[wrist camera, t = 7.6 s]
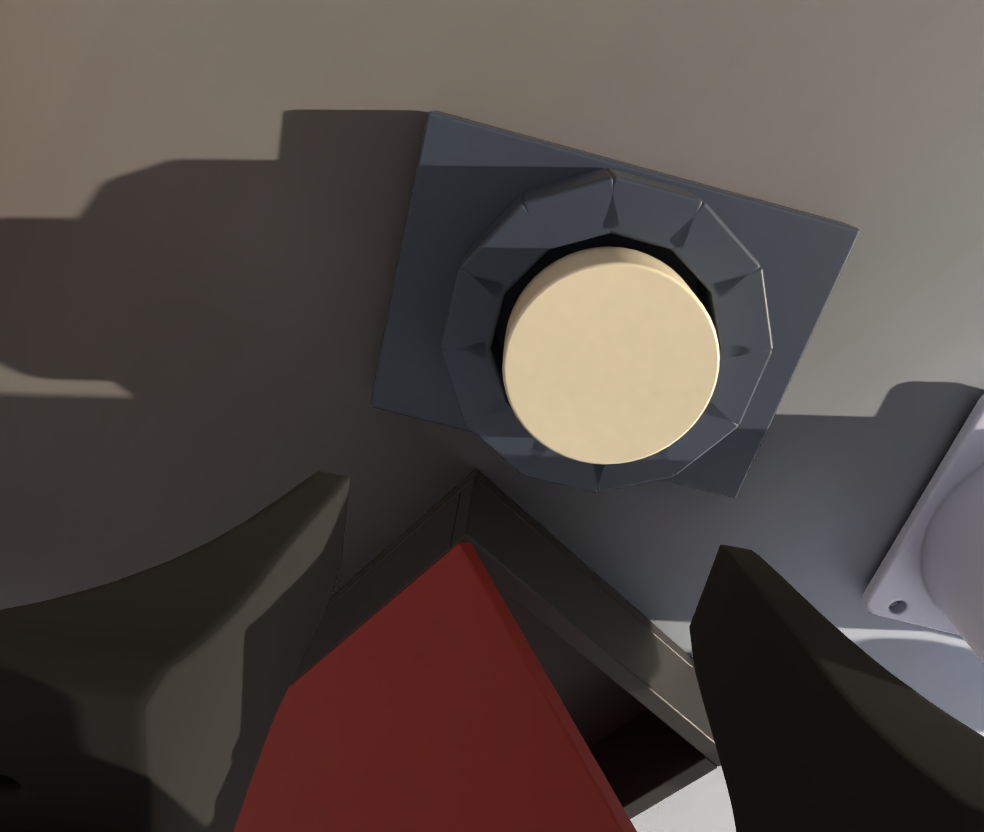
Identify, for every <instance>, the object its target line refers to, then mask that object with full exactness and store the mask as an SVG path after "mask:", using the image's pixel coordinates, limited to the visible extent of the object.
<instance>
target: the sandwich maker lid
mask: <svg viewBox="0 0 984 832" xmlns="http://www.w3.org/2000/svg"><path fill="white" fill-rule="evenodd" d="M233 832H637V831H636V829H635V828H634V826H633V824H632V822H631V821H630V819H629V817H628V815H627V814H626V812H625V810H624V808H623V807H622V805H621V803H620V802H619V800H618V798H617V796H616V795H615V793H614V791H613V789H612V788H611V786H610V784H609V782H608V781H607V779H606V777H605V775H604V774H603V772H602V770H601V769H600V767H599V765H598V763H597V762H596V760H595V758H594V756H593V755H592V753H591V751H590V749H589V748H588V746H587V744H586V743H585V741H584V739H583V737H582V736H581V734H580V732H579V730H578V729H577V727H576V725H575V723H574V722H573V720H572V718H571V716H570V715H569V713H568V711H567V710H566V708H565V706H564V704H563V703H562V701H561V699H560V697H559V696H558V694H557V692H556V690H555V689H554V687H553V685H552V683H551V682H550V680H549V678H548V677H547V675H546V673H545V671H544V670H543V668H542V666H541V664H540V663H539V661H538V659H537V657H536V656H535V654H534V652H533V650H532V649H531V647H530V645H529V644H528V642H527V640H526V638H525V637H524V635H523V633H522V631H521V630H520V628H519V626H518V624H517V623H516V621H515V619H514V618H513V616H512V614H511V612H510V611H509V609H508V607H507V605H506V604H505V602H504V600H503V598H502V597H501V595H500V593H499V591H498V590H497V588H496V586H495V585H494V583H493V581H492V579H491V578H490V576H489V574H488V572H487V571H486V569H485V567H484V565H483V564H482V562H481V560H480V558H479V557H478V555H477V553H476V552H475V550H474V548H473V546H472V545H471V543H469V542H466V543H457V544H456V545H455V546H454V547H453V548H451V549H450V550H449V551H448V552H447V553H446V554H444V555H443V556H442V557H441V558H440V559H438V560H437V561H436V562H435V563H434V564H433V565H431V566H430V567H429V568H428V569H427V570H426V571H424V572H423V573H422V574H421V575H420V576H418V577H417V578H416V579H415V580H414V581H413V582H411V583H410V584H409V585H408V586H407V587H406V588H404V589H403V590H402V591H401V592H400V593H398V594H397V595H396V596H395V597H394V598H393V599H391V600H390V601H389V602H388V603H387V604H386V605H384V606H383V607H382V608H381V609H380V610H378V611H377V612H376V613H375V614H374V615H373V616H371V617H370V618H369V619H368V620H367V621H366V622H364V623H363V624H362V625H361V626H360V627H358V628H357V629H356V630H355V631H354V632H353V633H351V634H350V635H349V636H348V637H347V638H346V639H344V640H343V641H342V642H341V643H340V644H338V645H337V646H336V647H335V648H334V649H333V650H331V651H330V652H329V653H328V654H327V655H326V656H324V657H323V658H322V659H321V660H320V661H318V662H317V663H316V664H315V665H314V666H313V667H311V668H310V669H309V670H308V671H307V672H306V673H304V674H303V675H302V676H301V677H300V678H299V679H297V680H296V681H295V682H294V683H293V684H291V685H290V686H289V687H288V690H287V692H286V694H285V696H284V698H283V700H282V702H281V704H280V706H279V708H278V711H277V713H276V715H275V718H274V720H273V722H272V725H271V727H270V730H269V733H268V735H267V738H266V741H265V744H264V746H263V749H262V752H261V755H260V757H259V760H258V763H257V766H256V768H255V771H254V774H253V777H252V780H251V782H250V785H249V788H248V791H247V794H246V797H245V800H244V803H243V805H242V808H241V811H240V814H239V817H238V820H237V823H236V826H235V829H234V831H233Z"/></svg>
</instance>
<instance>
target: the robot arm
mask: <svg viewBox="0 0 984 832" xmlns="http://www.w3.org/2000/svg"><path fill="white" fill-rule="evenodd" d="M349 484H350V477H347V476H342V475H336V474H331V473H325V472H320V471H318V472H317V473H315V474H314V475H312V476H311V477H309V478H308V479H306V480H305V481H303V482H302V483H301V484H299V485H298V486H297V487H295V488H294V489H292V490H291V491H290V492H288V493H287V494H285V495H284V496H282V497H281V498H280V499H278V500H277V501H275V502H274V503H272V504H271V505H269V506H268V507H266V508H265V509H263V510H262V511H260V512H259V513H257V514H256V515H254V516H253V517H251V518H250V519H248V520H247V521H245V522H243V523H242V524H240V525H238V526H236V527H235V528H233V529H231V530H230V531H228V532H226V533H225V534H223V535H221V536H219V537H218V538H216V539H214V540H212V541H210V542H208V543H206V544H204V545H202V546H200V547H198V548H196V549H194V550H192V551H190V552H188V553H185V554H183V555H181V556H179V557H177V558H175V559H172V560H170V561H168V562H165V563H163V564H160V565H158V566H155V567H152V568H150V569H147V570H144V571H142V572H139V573H136V574H133V575H131V576H128V577H125V578H123V579H120V580H117V581H114V582H111V583H108V584H105V585H102V586H98V587H95V588H92V589H88V590H85V591H81V592H78V593H74V594H70V595H66V596H63V597H59V598H55V599H51V600H47V601H42V602H38V603H33V604H28V605H23V606H18V607H13V608H8V609H3V610H0V832H233V831H234V829H235V826H236V823H237V820H238V817H239V814H240V811H241V808H242V805H243V803H244V800H245V797H246V794H247V791H248V788H249V785H250V782H251V780H252V777H253V774H254V771H255V768H256V766H257V763H258V760H259V757H260V755H261V752H262V749H263V746H264V744H265V741H266V738H267V735H268V733H269V730H270V727H271V725H272V722H273V720H274V718H275V715H276V713H277V711H278V708H279V706H280V704H281V702H282V700H283V698H284V696H285V694H286V692H287V690H288V687H289V685H290V683H291V681H292V679H293V677H294V675H295V673H296V671H297V669H298V667H299V665H300V663H301V661H302V658H303V656H304V654H305V652H306V650H307V648H308V646H309V644H310V642H311V640H312V638H313V636H314V634H315V631H316V629H317V627H318V625H319V623H320V621H321V619H322V617H323V615H324V612H325V610H326V608H327V605H328V602H329V599H330V596H331V593H332V590H333V587H334V584H335V581H336V578H337V575H338V572H339V569H340V566H341V558H342V549H343V540H344V530H345V521H346V512H347V502H348V493H349ZM862 601H863V603H864V605H865V607H866V608H867V609H868V611H869V612H870V613H873V614H875V615H879V616H883V617H887V618H891V619H895V620H899V621H903V622H907V623H912V624H916V625H920V626H924V627H928V628H932V629H936V630H940V631H944V632H948V633H952V634H957V635H961V636H962V637H963V638H964V639H965V641H966V642H967V643H968V644H969V646H970V647H971V648H972V650H973V651H974V652H975V653H976V655H977V656H978V657H979V659H980V660H981V661H982V662H983V664H984V394H983V395H982V396H981V397H980V398H979V400H978V401H977V403H976V405H975V406H974V408H973V410H972V411H971V413H970V415H969V416H968V418H967V420H966V421H965V423H964V425H963V427H962V428H961V430H960V432H959V433H958V435H957V437H956V438H955V440H954V442H953V443H952V445H951V447H950V448H949V450H948V452H947V453H946V455H945V457H944V458H943V460H942V462H941V464H940V465H939V467H938V469H937V470H936V472H935V474H934V475H933V477H932V479H931V480H930V482H929V484H928V485H927V487H926V489H925V490H924V492H923V494H922V495H921V497H920V499H919V501H918V502H917V504H916V506H915V507H914V509H913V511H912V512H911V514H910V516H909V517H908V519H907V521H906V522H905V524H904V526H903V527H902V529H901V531H900V532H899V534H898V536H897V538H896V539H895V541H894V543H893V544H892V546H891V548H890V549H889V551H888V553H887V554H886V556H885V558H884V559H883V561H882V563H881V564H880V566H879V568H878V569H877V571H876V573H875V575H874V576H873V578H872V580H871V581H870V583H869V585H868V586H867V588H866V590H865V591H864V593H863V596H862ZM895 601H900V602H898V603H897V604H896V605H893V606H890V605H891V604H892V603H893V602H895ZM690 635H691V644H692V653H693V659H694V666H695V673H696V677H697V681H698V685H699V689H700V692H701V696H702V699H703V703H704V707H705V710H706V714H707V717H708V721H709V724H710V728H711V731H712V735H713V738H714V742H715V745H716V749H717V752H718V756H719V759H720V763H721V766H722V770H723V773H724V777H725V780H726V784H727V788H728V792H729V796H730V800H731V805H732V809H733V815H734V820H735V826H736V832H984V737H983V736H982V735H980V734H979V733H977V732H975V731H974V730H972V729H971V728H969V727H968V726H966V725H965V724H963V723H961V722H960V721H958V720H957V719H955V718H954V717H952V716H950V715H949V714H947V713H946V712H944V711H943V710H941V709H940V708H938V707H937V706H935V705H934V704H933V703H931V702H930V701H928V700H927V699H925V698H924V697H922V696H921V695H920V694H918V693H917V692H916V691H914V690H913V689H912V688H910V687H909V686H908V685H906V684H905V683H903V682H902V681H901V680H899V679H898V678H897V677H895V676H894V675H893V674H891V673H890V672H889V671H887V670H886V669H885V668H884V667H882V666H881V665H880V664H879V663H877V662H876V661H875V660H874V659H872V658H871V657H870V656H869V655H868V654H866V653H865V652H864V651H863V650H862V649H861V648H859V647H858V646H857V645H856V644H855V643H853V642H852V641H851V640H850V639H849V638H847V637H846V636H845V635H844V634H843V633H842V632H841V631H840V630H838V629H837V628H836V627H835V626H834V625H833V624H832V623H831V622H830V621H828V620H827V619H826V618H825V617H824V616H823V615H822V614H821V613H820V612H819V611H818V610H817V609H815V608H814V607H813V606H812V605H811V604H810V603H809V602H808V601H807V600H806V599H805V598H804V597H803V596H802V595H801V594H800V593H798V592H797V591H796V590H795V589H794V588H793V587H792V586H791V585H790V584H789V583H788V582H787V581H786V580H785V579H784V578H783V577H782V576H781V575H780V574H778V573H777V572H776V571H775V570H774V569H773V568H772V567H771V566H770V565H769V564H768V563H767V562H765V561H764V560H763V559H762V558H761V557H760V556H758V555H757V554H756V553H755V552H753V551H752V550H748V549H743V548H737V547H732V546H726V545H720V547H719V550H718V553H717V555H716V558H715V560H714V563H713V566H712V568H711V571H710V574H709V576H708V579H707V582H706V584H705V587H704V590H703V592H702V595H701V598H700V600H699V603H698V606H697V608H696V611H695V613H694V616H693V619H692V621H691V624H690Z"/></svg>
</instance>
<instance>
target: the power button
mask: <svg viewBox="0 0 984 832" xmlns="http://www.w3.org/2000/svg"><path fill="white" fill-rule="evenodd" d="M719 360H720V354H719V343H718V339H717V335H716V330H715V328H714V325H713V323H712V320H711V318H710V316H709V314H708V312H707V311H706V309H705V307H704V306H703V304H702V303H701V302H700V300H699V299H698V298H697V297H696V295H695V294H694V293H693V292H692V290H691V289H690V288H689V286H688V285H687V284H686V283H685V281H684V280H683V279H682V278H681V277H680V276H679V275H678V274H677V273H676V272H675V271H674V270H673V269H672V268H671V267H669V266H668V265H666V264H665V263H663V262H662V261H661V260H659V259H657V258H655V257H653V256H651V255H649V254H646V253H643V252H640V251H637V250H633V249H628V248H623V247H595V248H590V249H585V250H581V251H578V252H575V253H572V254H569V255H567V256H565V257H562V258H560V259H558V260H556V261H555V262H553V263H552V264H550V265H549V266H547V267H546V268H544V269H543V270H542V271H541V272H540V273H538V274H537V275H536V276H535V277H534V278H533V279H532V280H531V281H530V282H529V284H528V285H527V286H526V287H525V288H524V290H523V291H522V293H521V294H520V296H519V297H518V299H517V301H516V303H515V305H514V307H513V309H512V311H511V314H510V317H509V320H508V324H507V329H506V335H505V343H504V351H503V364H502V372H503V383H504V387H505V392H506V395H507V398H508V401H509V403H510V406H511V408H512V410H513V412H514V413H515V415H516V417H517V418H518V420H519V421H520V423H521V424H522V425H523V427H524V428H525V429H526V430H527V431H528V432H529V433H530V434H531V435H532V436H533V437H534V438H535V439H536V440H538V441H539V442H540V443H541V444H543V445H544V446H546V447H548V448H549V449H551V450H552V451H554V452H556V453H558V454H561V455H563V456H565V457H568V458H571V459H574V460H577V461H582V462H587V463H594V464H619V463H625V462H631V461H635V460H638V459H642V458H645V457H648V456H650V455H653V454H655V453H657V452H659V451H661V450H663V449H665V448H666V447H668V446H670V445H671V444H672V443H674V442H675V441H677V440H678V439H679V438H681V437H682V436H683V435H684V434H685V433H686V432H687V431H688V430H689V429H690V428H691V427H692V426H693V425H694V424H695V423H696V421H697V420H698V419H699V417H700V416H701V414H702V413H703V411H704V410H705V409H706V407H707V405H708V403H709V401H710V399H711V397H712V394H713V391H714V388H715V385H716V382H717V377H718V372H719Z"/></svg>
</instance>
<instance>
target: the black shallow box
mask: <svg viewBox="0 0 984 832" xmlns="http://www.w3.org/2000/svg"><path fill="white" fill-rule="evenodd" d="M466 542H469V543H471V545H472V546H473V548H474V550H475V552H476V553H477V555H478V557H479V558H480V560H481V562H482V564H483V565H484V567H485V569H486V571H487V572H488V574H489V576H490V578H491V579H492V581H493V583H494V585H495V586H496V588H497V590H498V591H499V593H500V595H501V597H502V598H503V600H504V602H505V604H506V605H507V607H508V609H509V611H510V612H511V614H512V616H513V618H514V619H515V621H516V623H517V624H518V626H519V628H520V630H521V631H522V633H523V635H524V637H525V638H526V640H527V642H528V644H529V645H530V647H531V649H532V650H533V652H534V654H535V656H536V657H537V659H538V661H539V663H540V664H541V666H542V668H543V670H544V671H545V673H546V675H547V677H548V678H549V680H550V682H551V683H552V685H553V687H554V689H555V690H556V692H557V694H558V696H559V697H560V699H561V701H562V703H563V704H564V706H565V708H566V710H567V711H568V713H569V715H570V716H571V718H572V720H573V722H574V723H575V725H576V727H577V729H578V730H579V732H580V734H581V736H582V737H583V739H584V741H585V743H586V744H587V746H588V748H589V749H590V751H591V753H592V755H593V756H594V758H595V760H596V762H597V763H598V765H599V767H600V769H601V770H602V772H603V774H604V775H605V777H606V779H607V781H608V782H609V784H610V786H611V788H612V789H613V791H614V793H615V795H616V796H617V798H618V800H619V802H620V803H621V805H622V807H623V808H624V810H625V812H626V814H627V815H628V817H629V819H631V818H633V817H635V816H636V815H638V814H640V813H641V812H643V811H645V810H647V809H648V808H650V807H652V806H653V805H655V804H657V803H658V802H660V801H662V800H663V799H665V798H667V797H669V796H670V795H672V794H674V793H675V792H677V791H679V790H680V789H682V788H684V787H685V786H687V785H689V784H691V783H692V782H694V781H696V780H697V779H699V778H701V777H702V776H704V775H706V774H707V773H709V772H711V771H713V770H714V769H716V768H717V766H721V763H720V759H719V756H718V752H717V749H716V745H715V742H714V738H713V735H712V731H711V728H710V724H709V721H708V717H707V714H706V710H705V707H704V703H703V699H702V696H701V692H700V689H699V685H698V681H697V677H696V673H695V666H694V659H693V658H691V657H690V656H689V655H688V654H687V653H686V652H685V651H683V650H682V649H681V648H680V647H679V646H678V645H677V644H675V643H674V642H673V641H672V640H671V639H670V638H669V637H667V636H666V635H665V634H664V633H663V632H662V631H661V630H659V629H658V628H657V627H656V626H655V625H654V624H653V623H651V622H650V621H649V620H648V619H647V618H646V617H645V616H643V615H642V614H641V613H640V612H639V611H638V610H637V609H635V608H634V607H633V606H632V605H631V604H630V603H629V602H627V601H626V600H625V599H624V598H623V597H622V596H621V595H619V594H618V593H617V592H616V591H615V590H614V589H612V588H611V587H610V586H609V585H608V584H607V583H606V582H604V581H603V580H602V579H601V578H600V577H599V576H598V575H596V574H595V573H594V572H593V571H592V570H591V569H590V568H588V567H587V566H586V565H585V564H584V563H583V562H582V561H580V560H579V559H578V558H577V557H576V556H575V555H574V554H572V553H571V552H570V551H569V550H568V549H567V548H566V547H564V546H563V545H562V544H561V543H560V542H559V541H558V540H556V539H555V538H554V537H553V536H552V535H551V534H550V533H548V532H547V531H546V530H545V529H544V528H543V527H542V526H540V525H539V524H538V523H537V522H536V521H535V520H534V519H532V518H531V517H530V516H529V515H528V514H527V513H526V512H524V511H523V510H522V509H521V508H520V507H519V506H518V505H516V504H515V503H514V502H513V501H512V500H511V499H509V498H508V497H507V496H506V495H505V494H504V493H503V492H501V491H500V490H499V489H498V488H497V487H496V486H495V485H493V484H492V483H491V482H490V481H489V480H488V479H487V478H485V477H484V476H483V475H482V474H481V473H480V472H479V471H477V470H474V471H473V472H472V473H471V474H470V475H469V476H467V477H466V478H465V479H464V480H463V481H462V482H461V483H460V484H458V485H457V486H456V487H455V488H454V489H453V490H452V491H451V492H449V493H448V494H447V495H446V496H445V497H444V498H443V499H442V500H440V501H439V502H438V503H437V504H436V505H435V506H434V507H433V508H432V509H430V510H429V511H428V512H427V513H426V514H425V515H424V516H423V517H421V518H420V519H419V520H418V521H417V522H416V523H415V524H414V525H412V526H411V527H410V528H409V529H408V530H407V531H406V532H405V533H403V534H402V535H401V536H400V537H399V538H398V539H397V540H396V541H394V542H393V543H392V544H391V545H390V546H389V547H388V548H387V549H385V550H384V551H383V552H382V553H381V554H380V555H379V556H378V557H376V558H375V559H374V560H373V561H372V562H371V563H370V564H369V565H367V566H366V567H365V568H364V569H363V570H362V571H361V572H360V573H358V574H357V575H356V576H355V577H354V578H353V579H352V580H351V581H349V582H348V583H347V584H346V585H345V586H344V587H343V588H342V589H340V590H339V591H338V592H337V593H336V594H335V595H334V596H333V597H332V598H330V599H329V602H328V605H327V608H326V610H325V612H324V615H323V617H322V619H321V621H320V623H319V625H318V627H317V629H316V631H315V634H314V636H313V638H312V640H311V642H310V644H309V646H308V648H307V650H306V652H305V654H304V656H303V658H302V661H301V663H300V665H299V667H298V669H297V671H296V673H295V675H294V677H293V679H292V681H291V683H290V685H291V684H293V683H294V682H295V681H296V680H297V679H299V678H300V677H301V676H302V675H303V674H304V673H306V672H307V671H308V670H309V669H310V668H311V667H313V666H314V665H315V664H316V663H317V662H318V661H320V660H321V659H322V658H323V657H324V656H326V655H327V654H328V653H329V652H330V651H331V650H333V649H334V648H335V647H336V646H337V645H338V644H340V643H341V642H342V641H343V640H344V639H346V638H347V637H348V636H349V635H350V634H351V633H353V632H354V631H355V630H356V629H357V628H358V627H360V626H361V625H362V624H363V623H364V622H366V621H367V620H368V619H369V618H370V617H371V616H373V615H374V614H375V613H376V612H377V611H378V610H380V609H381V608H382V607H383V606H384V605H386V604H387V603H388V602H389V601H390V600H391V599H393V598H394V597H395V596H396V595H397V594H398V593H400V592H401V591H402V590H403V589H404V588H406V587H407V586H408V585H409V584H410V583H411V582H413V581H414V580H415V579H416V578H417V577H418V576H420V575H421V574H422V573H423V572H424V571H426V570H427V569H428V568H429V567H430V566H431V565H433V564H434V563H435V562H436V561H437V560H438V559H440V558H441V557H442V556H443V555H444V554H446V553H447V552H448V551H449V550H450V549H451V548H453V547H454V546H455V545H456V544H457V543H466ZM290 685H289V686H290Z"/></svg>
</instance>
